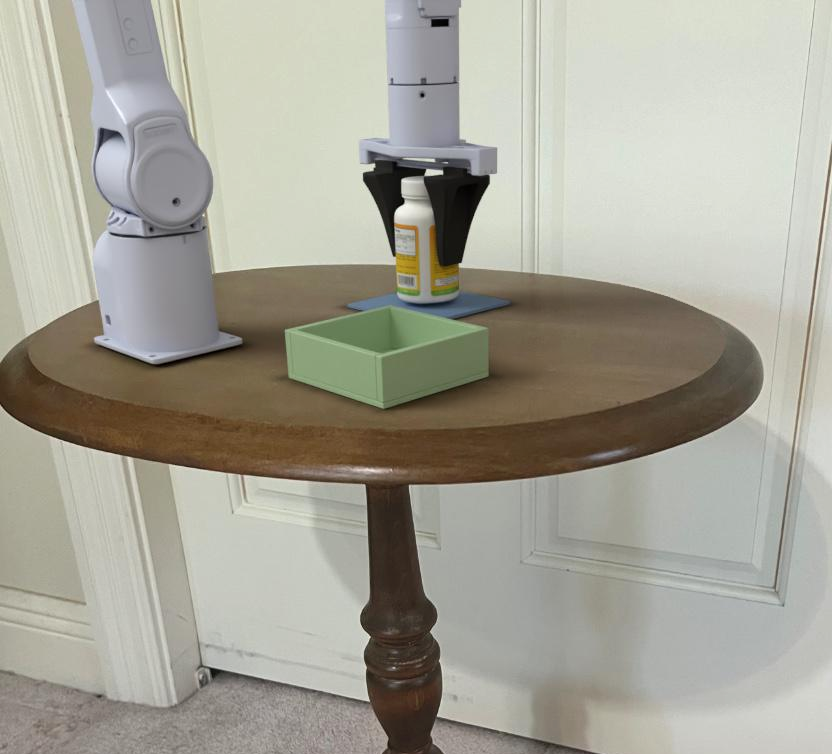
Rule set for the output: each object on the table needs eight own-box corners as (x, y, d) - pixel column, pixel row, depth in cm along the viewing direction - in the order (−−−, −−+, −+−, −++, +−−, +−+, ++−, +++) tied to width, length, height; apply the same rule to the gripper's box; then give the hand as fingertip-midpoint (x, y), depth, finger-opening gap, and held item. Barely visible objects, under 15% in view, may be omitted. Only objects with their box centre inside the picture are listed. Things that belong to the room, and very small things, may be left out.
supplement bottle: (461, 290, 96) (460, 173, 91) (457, 304, 91) (455, 182, 87) (400, 290, 97) (396, 174, 92) (393, 304, 92) (389, 183, 87)
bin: (288, 378, 76) (284, 329, 75) (391, 350, 82) (390, 304, 80) (383, 409, 69) (381, 357, 68) (488, 376, 75) (489, 327, 74)
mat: (347, 307, 95) (347, 303, 94) (430, 288, 100) (430, 284, 100) (425, 326, 88) (425, 322, 88) (509, 304, 94) (509, 300, 94)
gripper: (525, 82, 84) (521, 263, 90) (400, 79, 93) (405, 243, 100) (460, 87, 79) (461, 276, 86) (336, 84, 89) (345, 254, 95)
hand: (427, 259), depth 92 cm, fingers closed on supplement bottle, 5 cm apart
